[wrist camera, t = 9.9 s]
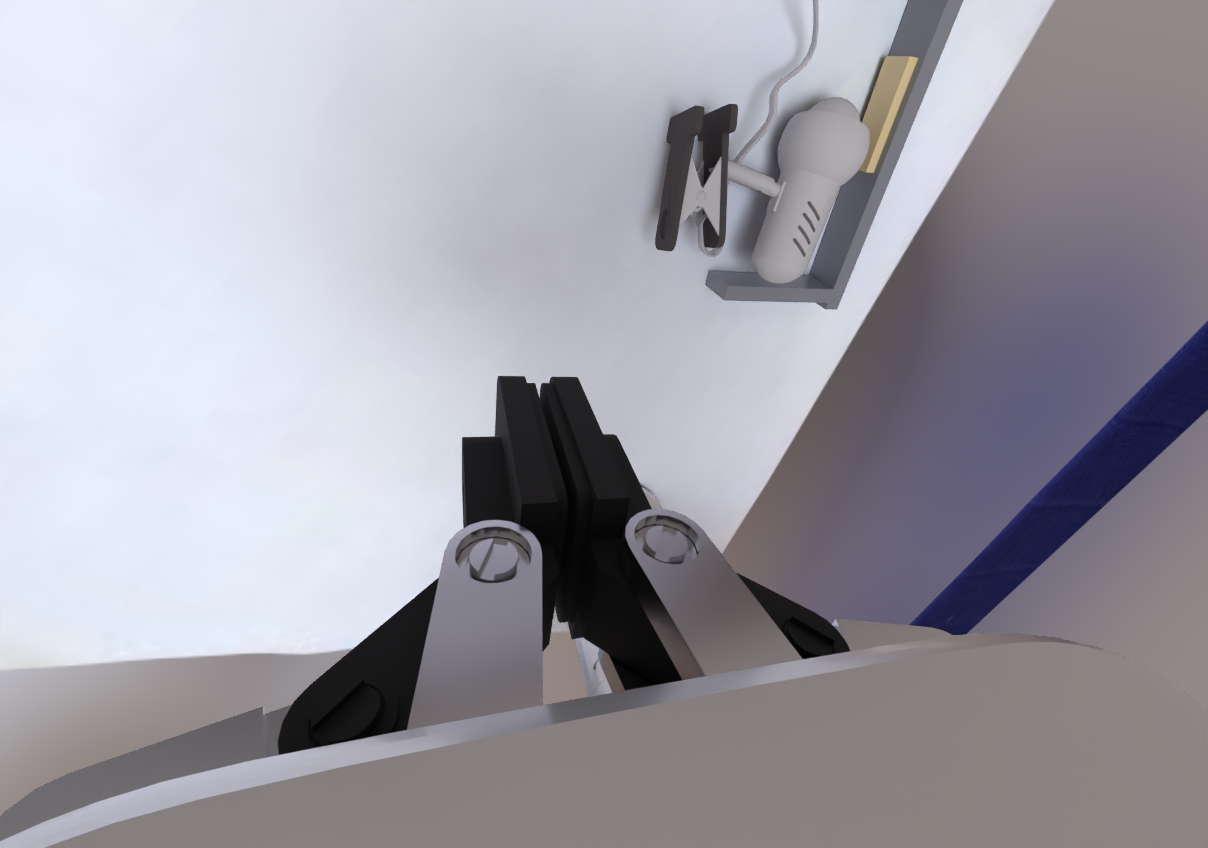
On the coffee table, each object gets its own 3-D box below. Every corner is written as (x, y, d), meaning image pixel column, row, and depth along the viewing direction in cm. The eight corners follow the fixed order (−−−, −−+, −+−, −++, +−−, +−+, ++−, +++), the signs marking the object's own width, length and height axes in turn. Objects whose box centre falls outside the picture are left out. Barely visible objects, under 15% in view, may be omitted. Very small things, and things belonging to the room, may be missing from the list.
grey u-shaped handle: (813, 294, 39) (836, 309, 37) (704, 290, 37) (722, 307, 34) (980, -154, 26) (1034, -174, 24) (827, -211, 23) (871, -241, 21)
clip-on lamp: (729, -101, 27) (630, 242, 32) (799, -187, 21) (665, 247, 27) (893, -2, 31) (780, 290, 36) (989, -52, 25) (838, 304, 30)
